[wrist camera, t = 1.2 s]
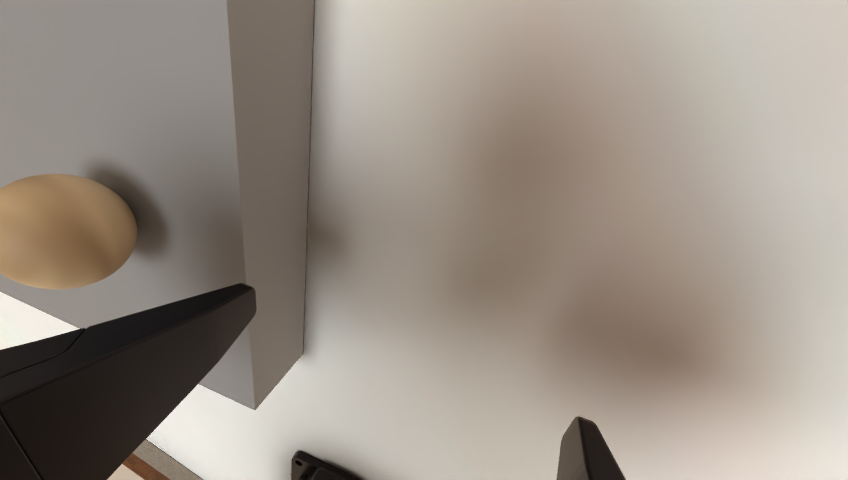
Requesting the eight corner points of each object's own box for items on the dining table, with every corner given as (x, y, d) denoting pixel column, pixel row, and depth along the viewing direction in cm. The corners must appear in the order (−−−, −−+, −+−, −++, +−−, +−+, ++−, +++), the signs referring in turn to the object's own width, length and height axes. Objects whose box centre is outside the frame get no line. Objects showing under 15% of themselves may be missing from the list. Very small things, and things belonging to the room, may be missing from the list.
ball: (171, 268, 13) (59, 330, 10) (96, 238, 14) (-29, 288, 11) (153, 178, 12) (14, 221, 9) (68, 148, 12) (-88, 179, 9)
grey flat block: (302, 353, 19) (255, 410, 16) (-9, 222, 23) (-93, 248, 20) (315, -24, 11) (223, -53, 8) (-169, -125, 15) (-351, -169, 12)
